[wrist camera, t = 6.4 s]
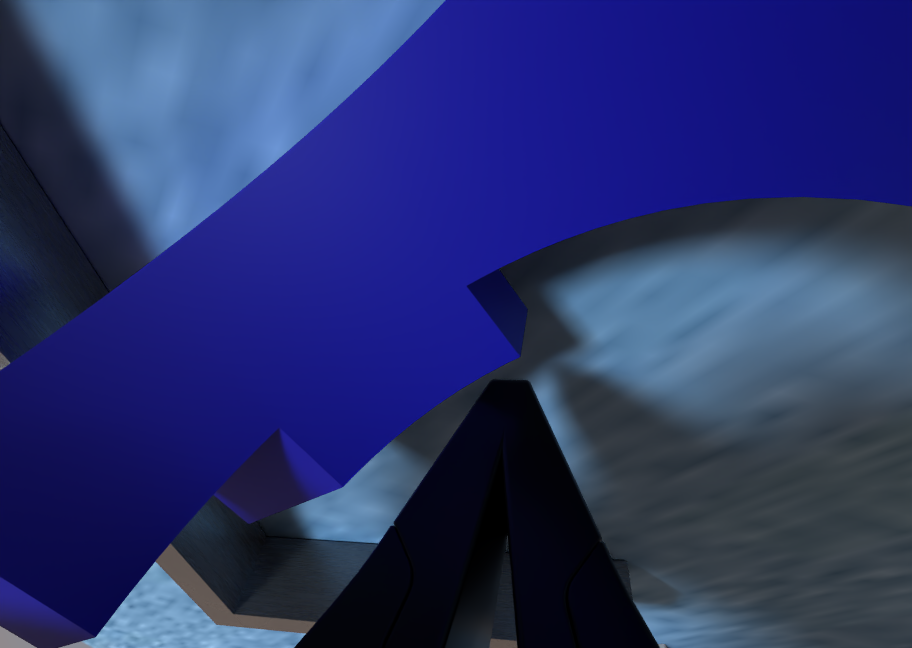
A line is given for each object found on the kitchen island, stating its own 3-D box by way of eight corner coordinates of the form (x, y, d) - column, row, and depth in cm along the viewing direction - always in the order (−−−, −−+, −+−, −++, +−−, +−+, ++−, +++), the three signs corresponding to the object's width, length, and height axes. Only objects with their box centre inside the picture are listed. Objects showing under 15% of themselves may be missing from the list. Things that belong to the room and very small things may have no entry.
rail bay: (897, -679, 4) (1663, -1935, 1) (623, 576, 16) (640, 700, 14) (-361, -317, 6) (-1056, -500, 3) (250, 549, 18) (204, 652, 16)
